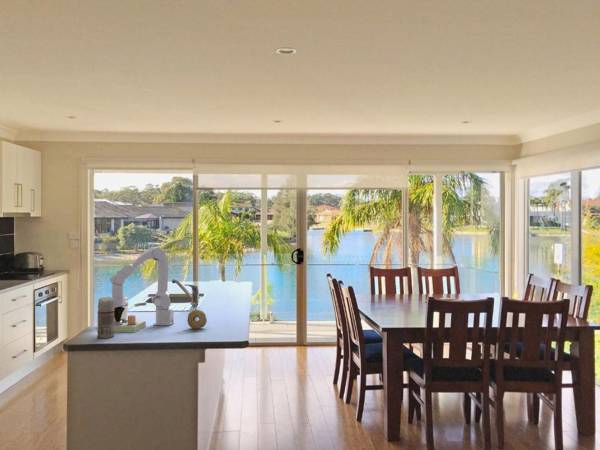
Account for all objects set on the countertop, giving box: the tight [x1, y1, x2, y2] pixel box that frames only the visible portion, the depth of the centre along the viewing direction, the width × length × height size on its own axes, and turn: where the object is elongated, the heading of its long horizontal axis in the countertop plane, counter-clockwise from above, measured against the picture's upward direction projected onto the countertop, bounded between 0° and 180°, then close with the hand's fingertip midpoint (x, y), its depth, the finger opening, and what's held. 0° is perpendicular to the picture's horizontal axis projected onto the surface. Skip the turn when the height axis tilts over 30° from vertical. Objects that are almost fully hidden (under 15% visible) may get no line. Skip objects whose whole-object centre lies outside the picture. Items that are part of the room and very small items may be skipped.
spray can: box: [96, 296, 115, 339], centre depth 275 cm, size 8×8×20 cm
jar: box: [110, 295, 129, 321], centre depth 310 cm, size 11×10×15 cm
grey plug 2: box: [120, 317, 128, 323], centre depth 299 cm, size 4×4×4 cm
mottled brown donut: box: [187, 309, 208, 330], centre depth 295 cm, size 10×4×10 cm, turn 87°
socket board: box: [114, 320, 147, 333], centre depth 294 cm, size 15×15×3 cm
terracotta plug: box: [127, 314, 137, 325], centre depth 292 cm, size 4×4×4 cm
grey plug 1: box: [114, 321, 122, 326], centre depth 291 cm, size 4×4×4 cm
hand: (117, 321), depth 291 cm, fingers closed, pressing on grey plug 1
